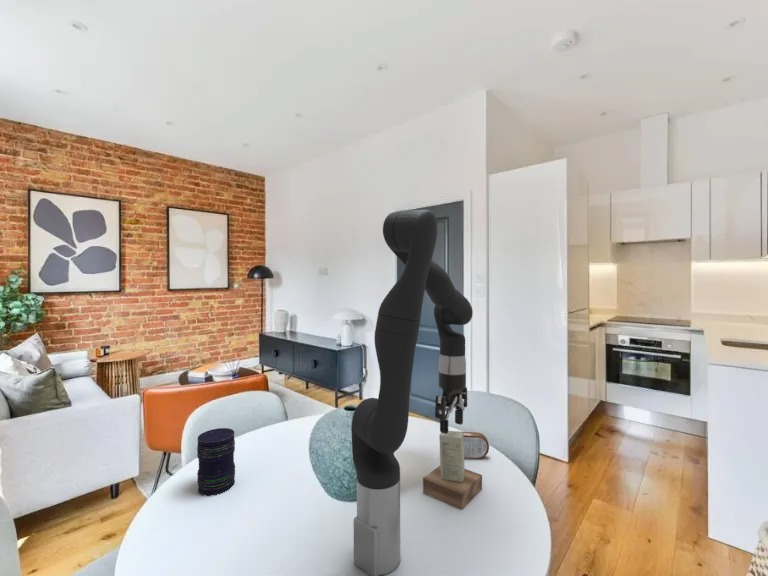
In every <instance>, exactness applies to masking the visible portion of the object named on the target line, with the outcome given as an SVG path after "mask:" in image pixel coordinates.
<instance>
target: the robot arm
mask: <svg viewBox="0 0 768 576" xmlns="http://www.w3.org/2000/svg"><path fill="white" fill-rule="evenodd" d="M436 217H437V216H436V215H435V213H434V212H433V211H432V210H430V209H410V210H400V211H399V210H398V211H393V212H391V213H389V214H388V215H387V216H386V217H385V219H384V221H383V224H382V235H383V239H384V241H385V243H386V245H387V247H388V248H389V249H390V251H392V253H393V254H394V255H395V256H396V257H397V258H398V259H399V260H400V262H402V264H403V265H404V269H403V271H402V273H401V275H400V277H399V278H398V279H397V281H396V282H395V284H394V285H393V286H392V288H391V289H390V290H389V291H388V293H387V294H386V296H385V297H384V298H383V300H382V302H381V303H380V306H379V308H378V312H377V319H376V324H375V330H374V348H375V354H376V358H377V364H378V369H379V379H380V380H379V391H378V395H377V396H378V398H377V397H376V398H375V397H369V398H366V399H363V400H362V401H361V402H360V403H358V405H357V406H356V407H355V410H354V412H353V415H352V419H351V430H350V431H351V449H352V462H353V463H352V464H353V465H354V468H355V472H356V516H355V517H354V518H353V564H354V565H356V566H357V567H358V568H360V569H361V570H362V571H364V572H365V573H367V574H368V575H370V576H381V575H387V574H389V573H392V572H393V571H394V570H395V569H397V568H398V566H399V565H400V562H401V466H400V463H399V461H398V459H397V458H396V456H395V454H394V453H395V452H397V451H398V449H399V448H401V446H402V445H403V442H404V441H405V437H406V435H407V432H408V426H409V415H410V414H409V413H410V397H411V396H410V394H411V383H412V376H413V369H414V361H415V354H416V353H415V352H416V346H417V342H418V337H419V332H420V326H421V325H420V323H421V316H422V309H423V302H424V295H425V293H426V294H427V295H428V297H429V298H430V301H431V302H432V303H433V304H434V307H433V317H434V320H435V324H436V328H437V333H438V336H439V359H438V386H439V387H440V388H441V389H442V394H441V395H438V394H437V395H436V396H435V403H434V404H435V405H434V406H435V408H434V409H435V410H434V418H436V419H439V432H440V434H441V433H445V434H447V433H448V431H449V417H450V414H451V413H453V411H454V423H455V424H456V425H463V424H464V411H465V408H467V407H468V387H467V359H466V337H465V335H464V334H463V333H460V332H457V331H455V330H453V329H452V327H451V325H455V326H464V325H465V326H466V325H467V324H468V323H470V322H471V320H472V319H473V308H472V305H471V303H470V301H469V300H468V299H467V298H466V297H465V296H464V295H463V294H462V293H461V292H460V291H459V290H458V289H457V288H456V287H455V286H454V283H453V281H452V279H451V278H450V276H449V274H448V273H447V271H446V270H444V268H443V267H442V266H441V265H439V264H438V263H437V262H436V261H434V260H433V255H434V252H435V248H436V243H437V237H438V221H437V218H436ZM454 409H455V410H454Z"/></svg>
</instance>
